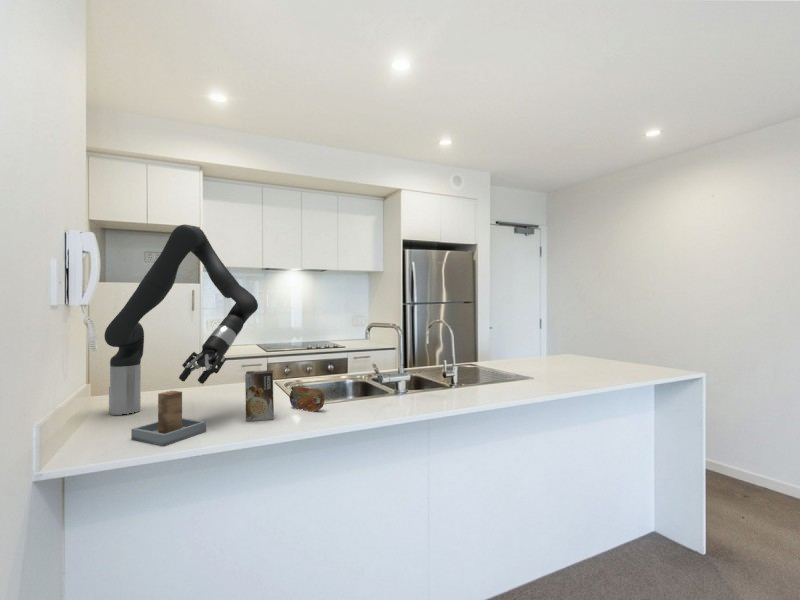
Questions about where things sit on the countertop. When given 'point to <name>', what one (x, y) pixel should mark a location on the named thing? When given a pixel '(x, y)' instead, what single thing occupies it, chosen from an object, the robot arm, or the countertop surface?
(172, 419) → the walnut block
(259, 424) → the countertop surface
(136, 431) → the tray
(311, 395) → the tin
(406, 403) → the countertop surface
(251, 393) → the coffee box
